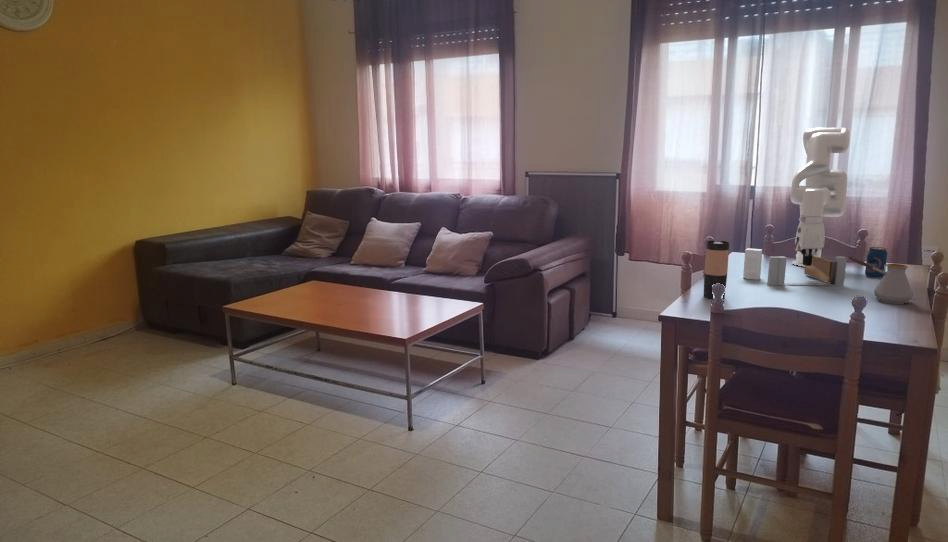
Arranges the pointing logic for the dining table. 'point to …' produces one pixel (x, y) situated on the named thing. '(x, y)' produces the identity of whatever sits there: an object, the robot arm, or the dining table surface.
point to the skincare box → (752, 263)
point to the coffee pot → (891, 283)
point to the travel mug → (715, 266)
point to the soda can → (876, 262)
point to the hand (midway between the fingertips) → (806, 265)
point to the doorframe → (778, 276)
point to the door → (821, 269)
